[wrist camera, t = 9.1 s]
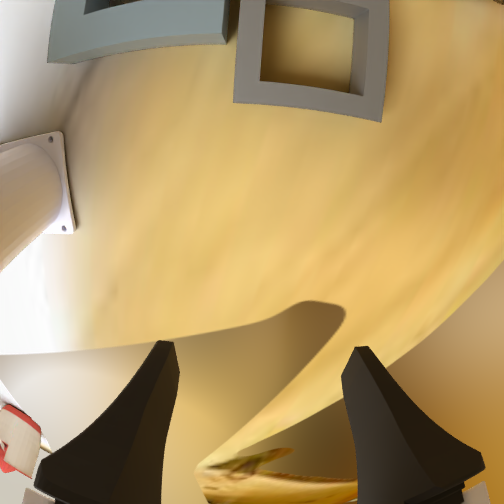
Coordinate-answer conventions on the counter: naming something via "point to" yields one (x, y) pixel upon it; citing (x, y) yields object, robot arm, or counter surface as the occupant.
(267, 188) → the counter surface
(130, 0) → the steel pin
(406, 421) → the robot arm
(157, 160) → the counter surface
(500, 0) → the cup
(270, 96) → the pin mount
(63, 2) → the socket block
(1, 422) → the citrus juicer
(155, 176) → the counter surface
